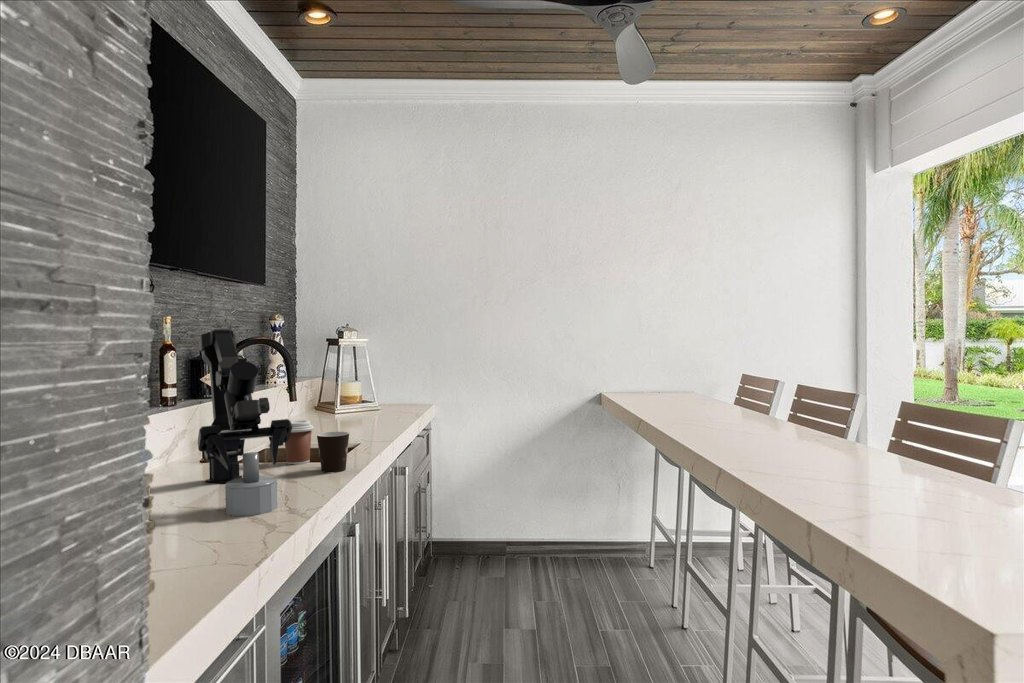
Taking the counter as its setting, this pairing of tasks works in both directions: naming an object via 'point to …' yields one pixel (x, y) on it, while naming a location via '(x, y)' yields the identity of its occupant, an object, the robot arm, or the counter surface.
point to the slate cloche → (251, 490)
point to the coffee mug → (333, 450)
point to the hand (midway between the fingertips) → (252, 466)
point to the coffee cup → (299, 442)
